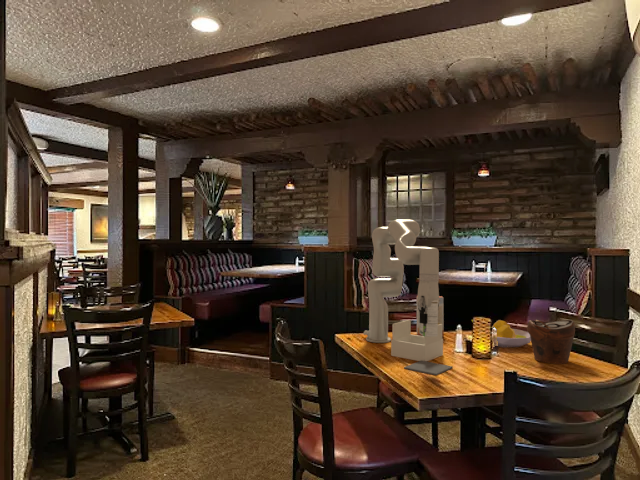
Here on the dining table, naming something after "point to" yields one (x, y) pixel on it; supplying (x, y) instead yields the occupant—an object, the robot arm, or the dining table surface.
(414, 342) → the carton
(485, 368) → the dining table surface
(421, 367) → the mat
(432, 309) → the syrup box
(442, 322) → the cracker box
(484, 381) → the dining table surface
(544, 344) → the brown flower pot
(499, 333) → the fruit bowl
